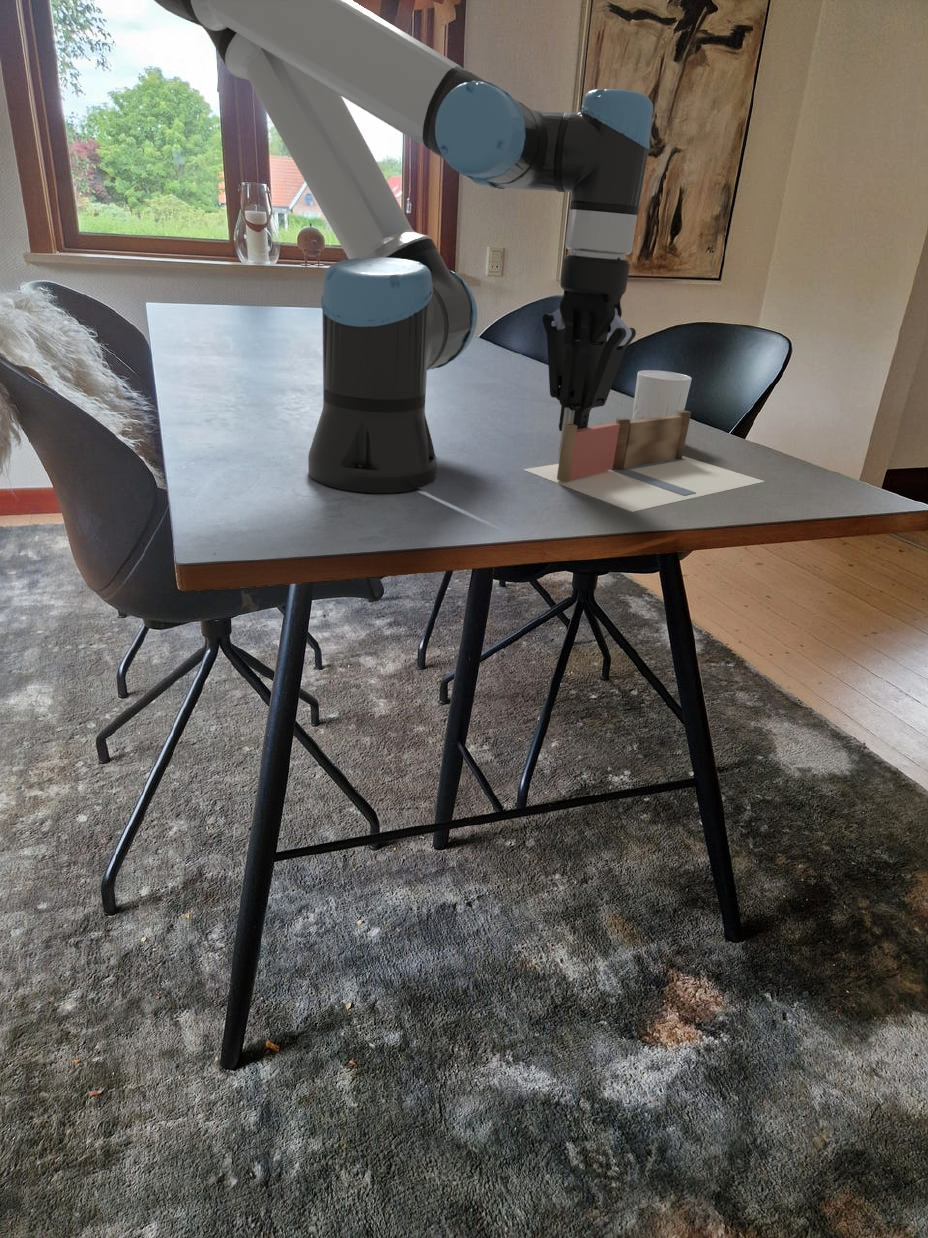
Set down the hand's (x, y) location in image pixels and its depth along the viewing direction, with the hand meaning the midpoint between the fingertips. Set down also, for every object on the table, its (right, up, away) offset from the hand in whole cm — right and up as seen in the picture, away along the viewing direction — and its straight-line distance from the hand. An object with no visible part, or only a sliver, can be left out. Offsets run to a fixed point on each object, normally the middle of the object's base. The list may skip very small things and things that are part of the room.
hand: (568, 459), depth 100 cm
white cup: (+16, +7, +21) cm, 27 cm away
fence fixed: (+12, +1, +8) cm, 14 cm away
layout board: (+10, -2, +2) cm, 11 cm away
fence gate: (+2, -2, -1) cm, 3 cm away
